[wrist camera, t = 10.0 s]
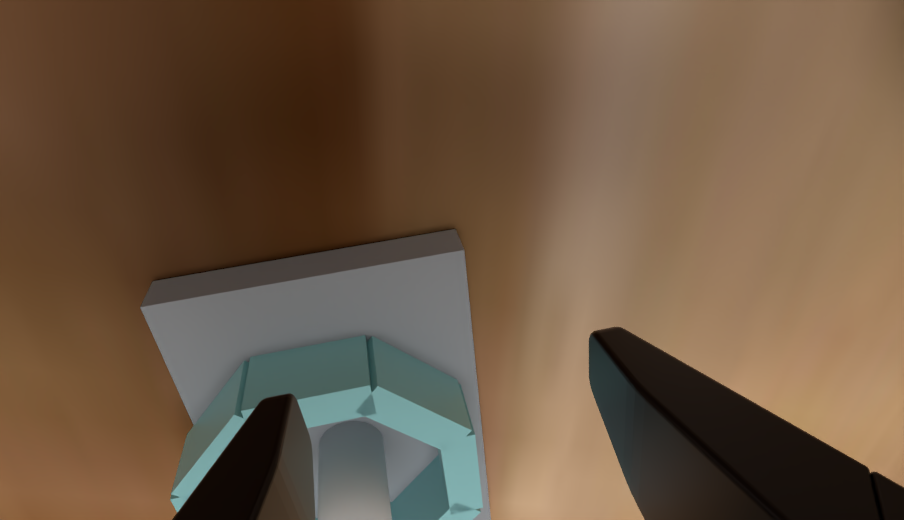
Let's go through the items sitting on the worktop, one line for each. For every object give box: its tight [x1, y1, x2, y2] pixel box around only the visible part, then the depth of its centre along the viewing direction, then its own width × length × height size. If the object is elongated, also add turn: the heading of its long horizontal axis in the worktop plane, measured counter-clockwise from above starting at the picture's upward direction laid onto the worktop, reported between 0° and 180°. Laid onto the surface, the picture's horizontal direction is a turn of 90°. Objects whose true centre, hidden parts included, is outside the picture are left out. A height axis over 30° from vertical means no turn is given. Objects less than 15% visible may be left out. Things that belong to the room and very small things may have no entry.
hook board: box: [140, 229, 491, 520], centre depth 20 cm, size 10×15×8 cm, turn 6°
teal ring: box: [170, 335, 483, 520], centre depth 21 cm, size 10×10×2 cm
